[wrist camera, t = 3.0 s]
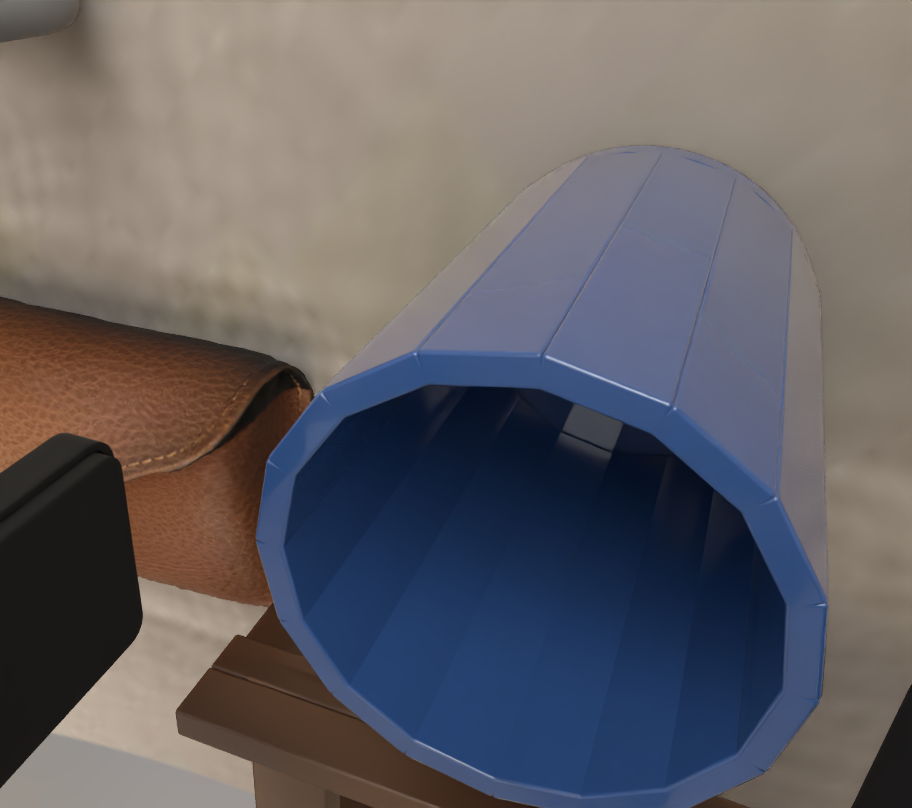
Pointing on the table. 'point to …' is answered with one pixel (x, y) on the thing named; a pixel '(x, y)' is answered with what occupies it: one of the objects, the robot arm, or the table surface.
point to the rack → (312, 735)
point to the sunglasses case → (157, 433)
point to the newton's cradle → (35, 17)
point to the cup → (576, 496)
